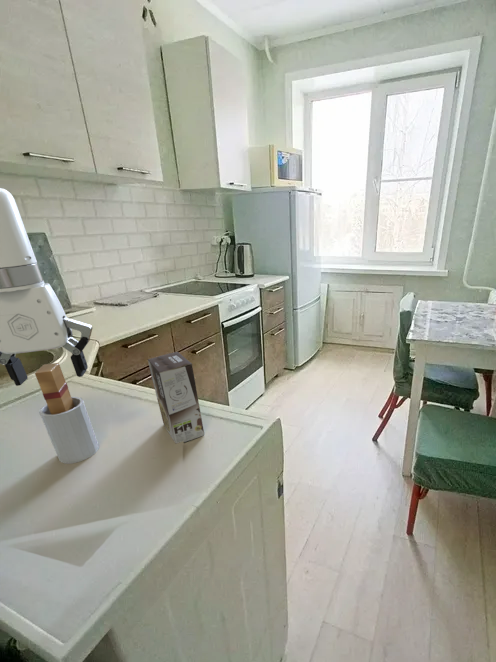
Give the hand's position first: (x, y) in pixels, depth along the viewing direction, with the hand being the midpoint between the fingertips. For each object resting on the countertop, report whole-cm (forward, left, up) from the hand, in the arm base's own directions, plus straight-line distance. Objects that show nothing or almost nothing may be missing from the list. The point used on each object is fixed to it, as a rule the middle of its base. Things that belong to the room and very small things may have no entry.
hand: (52, 378), depth 62 cm
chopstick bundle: (0, 0, -16) cm, 16 cm away
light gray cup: (0, 0, -17) cm, 17 cm away
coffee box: (+16, +12, -17) cm, 26 cm away
